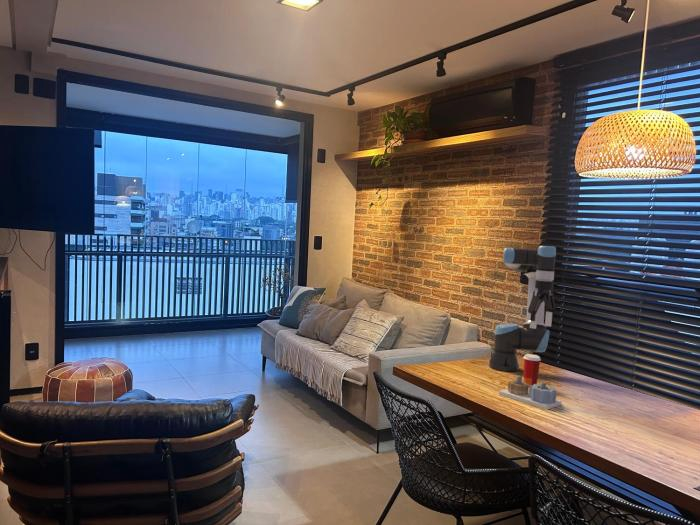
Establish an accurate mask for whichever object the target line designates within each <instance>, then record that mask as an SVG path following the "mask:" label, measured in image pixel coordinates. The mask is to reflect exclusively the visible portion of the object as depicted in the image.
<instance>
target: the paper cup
mask: <svg viewBox="0 0 700 525" xmlns="http://www.w3.org/2000/svg"><path fill="white" fill-rule="evenodd" d="M522 358H523V382H524V383H528V385H529V387H530V385H533V384H537V383H538V378H539V371H540V364H541V363H540V362H541V361H542V359H541V357H540V356H539V355H537V354H531V353H530V354H529V353H527V354H524V356H523V357H522ZM537 385H538V384H537Z"/></svg>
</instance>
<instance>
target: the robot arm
mask: <svg viewBox="0 0 700 525" xmlns="http://www.w3.org/2000/svg"><path fill="white" fill-rule="evenodd" d="M502 254H503V258H502V262H503V263H504V265H505V266H506V267H507V268H509V269H510V270H513V271H517V272H523V273H525V275H526V277H527V278H528V283H527V284H528V287H527V301H526V305H527V306H526V318H525V319H526V320H525V322H524V323H523V324H522V327H520V325H519V324H518V323H508V322H507V323H500V324H497V325H496V326H495V330H494V339H493V340H494V341H493V352H492V355H491V356H490V359H489V362H488V367H490V368H491V369H493V370H497V371H500V372H519V370H520V364H519V361H518V356H517V351H527V352H535V353H545V352H546V349H547V347H548V343H549V339H550V330H549V329H547V327H552V323H553V322H552V320H553V313H555V312H556V303H555V296H554V291H553V289H554V280H555V265H556V256H557V247H556V246H549V245H539V246H538V248H537V249H536V248H535V249H532V248H515V247H505V248H504V250H503V253H502ZM545 308H546V311H545ZM544 320H545V321H544Z"/></svg>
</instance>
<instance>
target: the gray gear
mask: <svg viewBox="0 0 700 525" xmlns="http://www.w3.org/2000/svg"><path fill="white" fill-rule="evenodd" d="M528 391H529V398H531V399H530V400H532V401H537V402H539V403H548V404H552V402H556V399H557V392H558V391H557V389H555V387H553V386H548V385H546V389H540V384H533V385H530V387H529V389H528Z"/></svg>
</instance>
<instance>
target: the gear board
mask: <svg viewBox="0 0 700 525" xmlns="http://www.w3.org/2000/svg"><path fill="white" fill-rule="evenodd" d="M515 381H516V384H520V385H521V384H522V382H523V376H521V375H516V376H515ZM539 385H540V389H546V386H547V383H546V382H542V381H540V382H539ZM498 395H500V396H501V397H502V396H503V397H506V398H508V399H511V400H515V401H518V402H521V403H524V404H527V405H530V406H531V405H532V406H534V407H537V408H541V409H544V410H545V411H547V410H550V409H553V408H555V407H558V406H560V405H562V400H559V399H557V398H556V402H552V404H548V403H539V402H537V401H532V400H530V399H531V398H529V390H528V395H527V394H525V395H515V394H513V393H509V391H508V388H506V389H501V390H499V391H498Z"/></svg>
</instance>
